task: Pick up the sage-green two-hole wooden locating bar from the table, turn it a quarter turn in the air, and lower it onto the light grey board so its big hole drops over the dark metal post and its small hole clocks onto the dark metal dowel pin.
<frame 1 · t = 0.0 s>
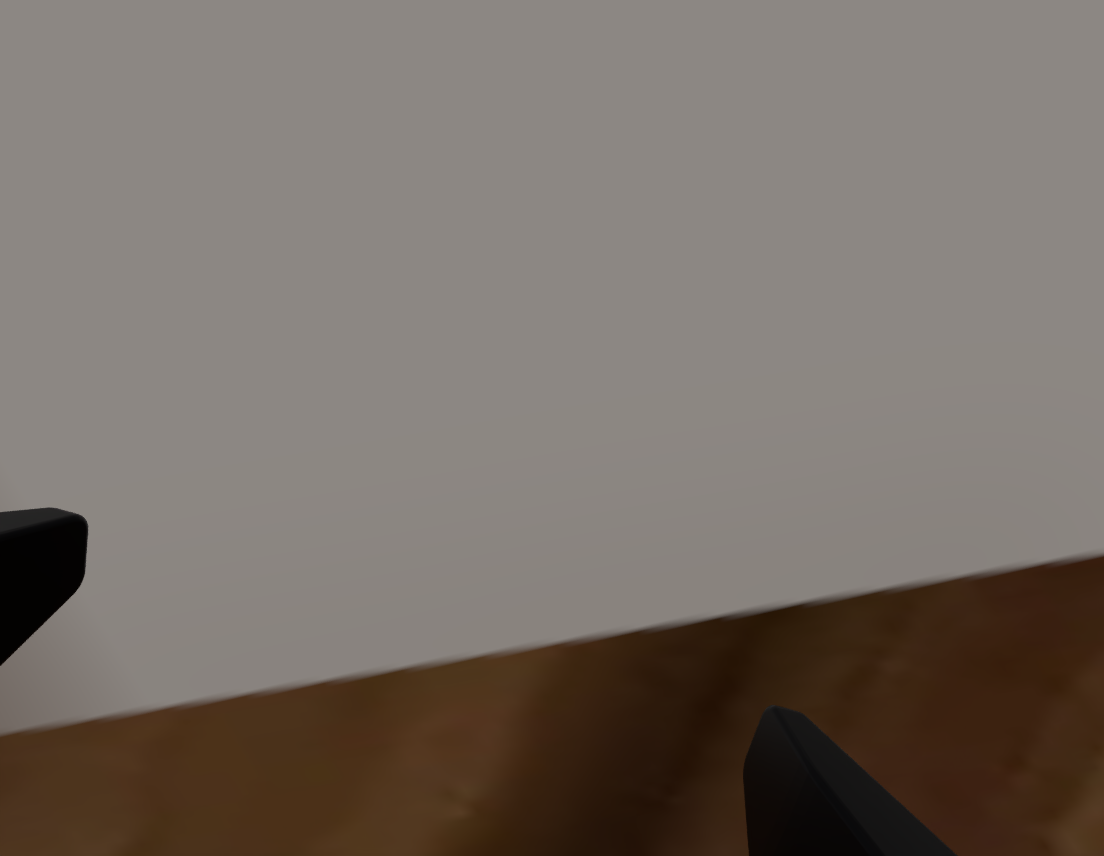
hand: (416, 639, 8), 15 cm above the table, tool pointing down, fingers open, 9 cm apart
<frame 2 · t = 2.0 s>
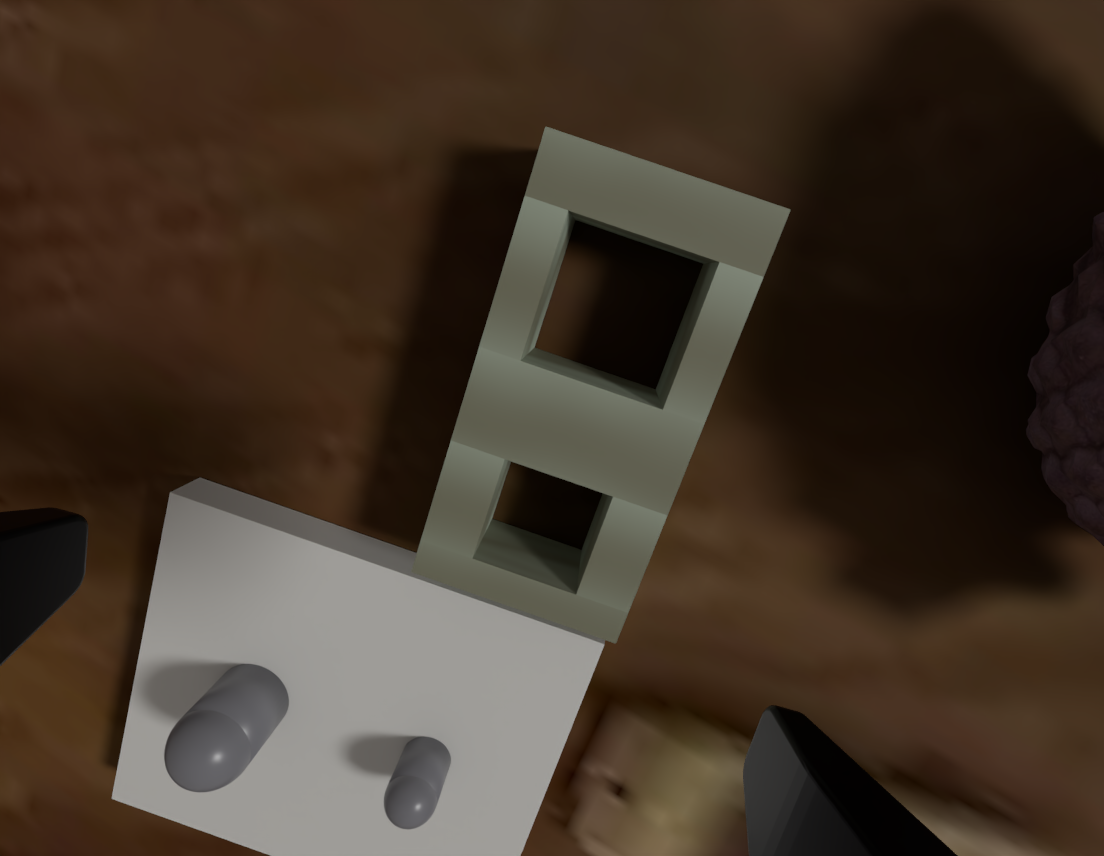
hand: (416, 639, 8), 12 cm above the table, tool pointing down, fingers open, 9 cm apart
locating bar: (588, 387, 20), on the table
post board: (357, 698, 23), on the table
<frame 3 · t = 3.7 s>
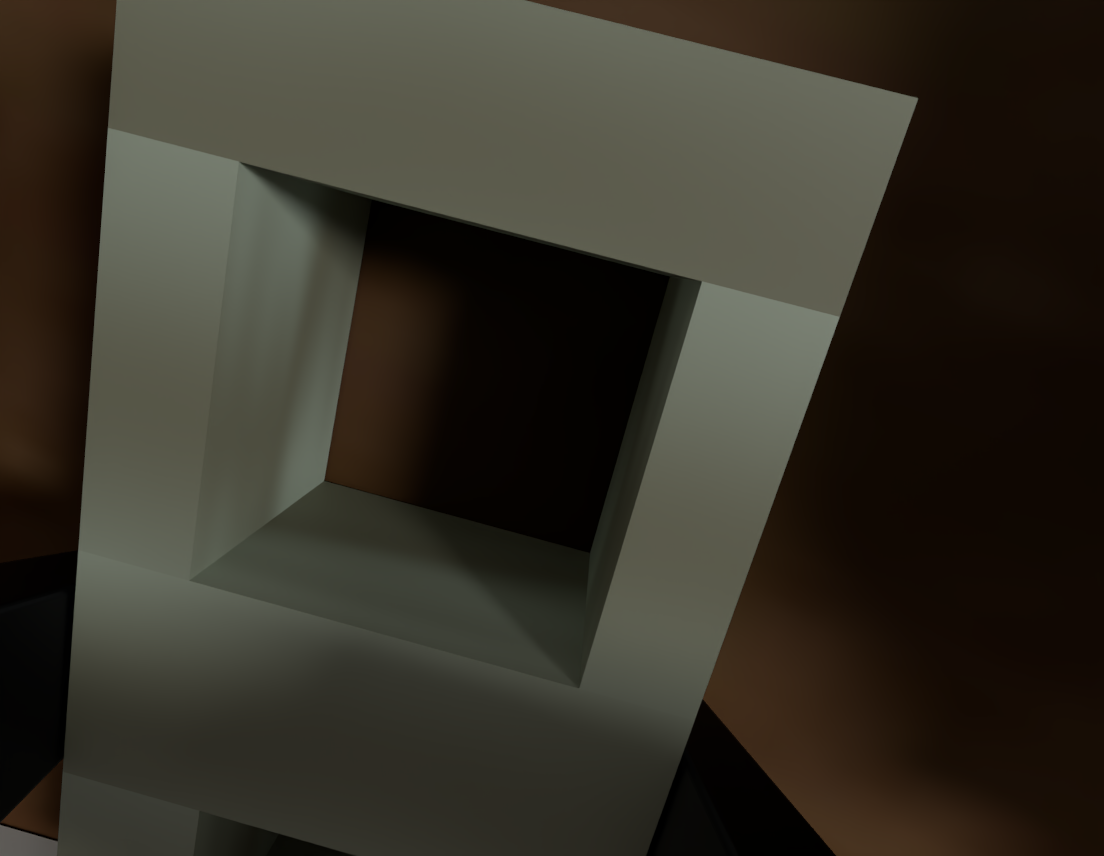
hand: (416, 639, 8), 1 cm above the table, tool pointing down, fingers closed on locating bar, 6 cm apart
locating bar: (447, 555, 9), on the table, touching gripper
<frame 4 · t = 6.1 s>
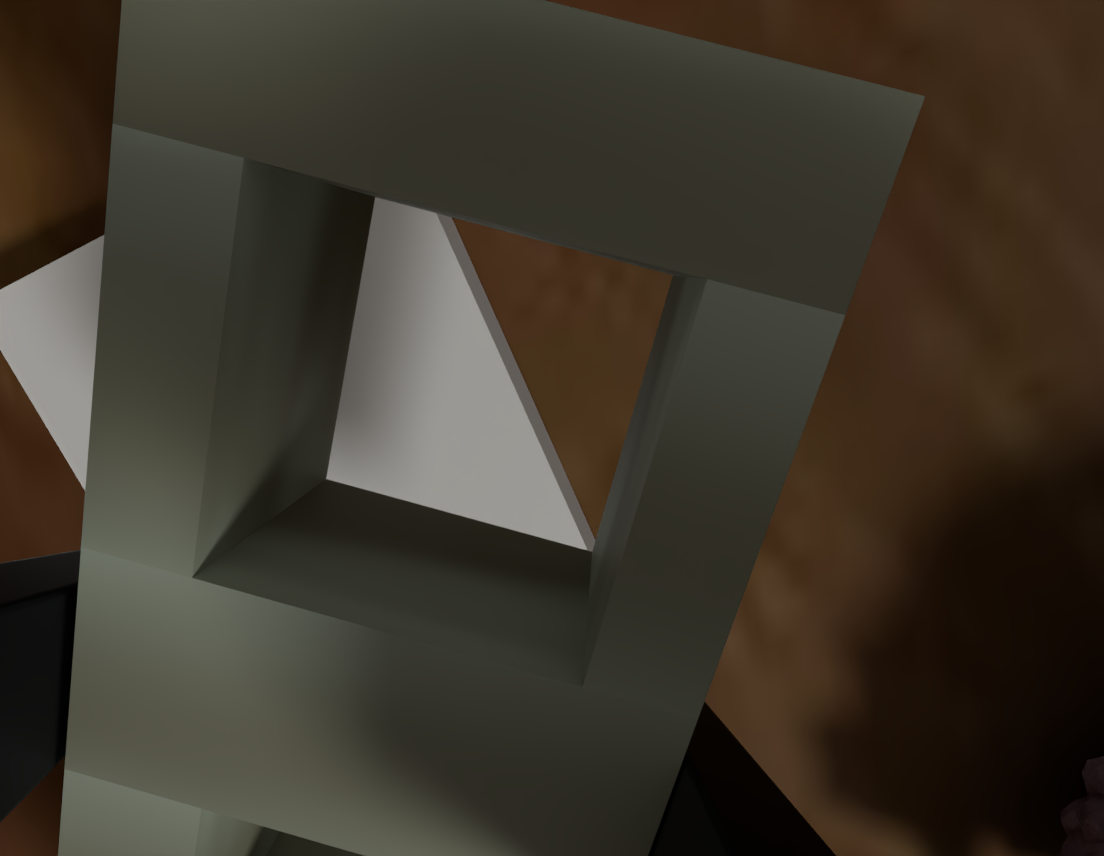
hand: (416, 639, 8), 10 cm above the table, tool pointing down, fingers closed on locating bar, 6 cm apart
locating bar: (449, 553, 9), point 9 cm above the table, touching gripper
post board: (324, 447, 19), on the table
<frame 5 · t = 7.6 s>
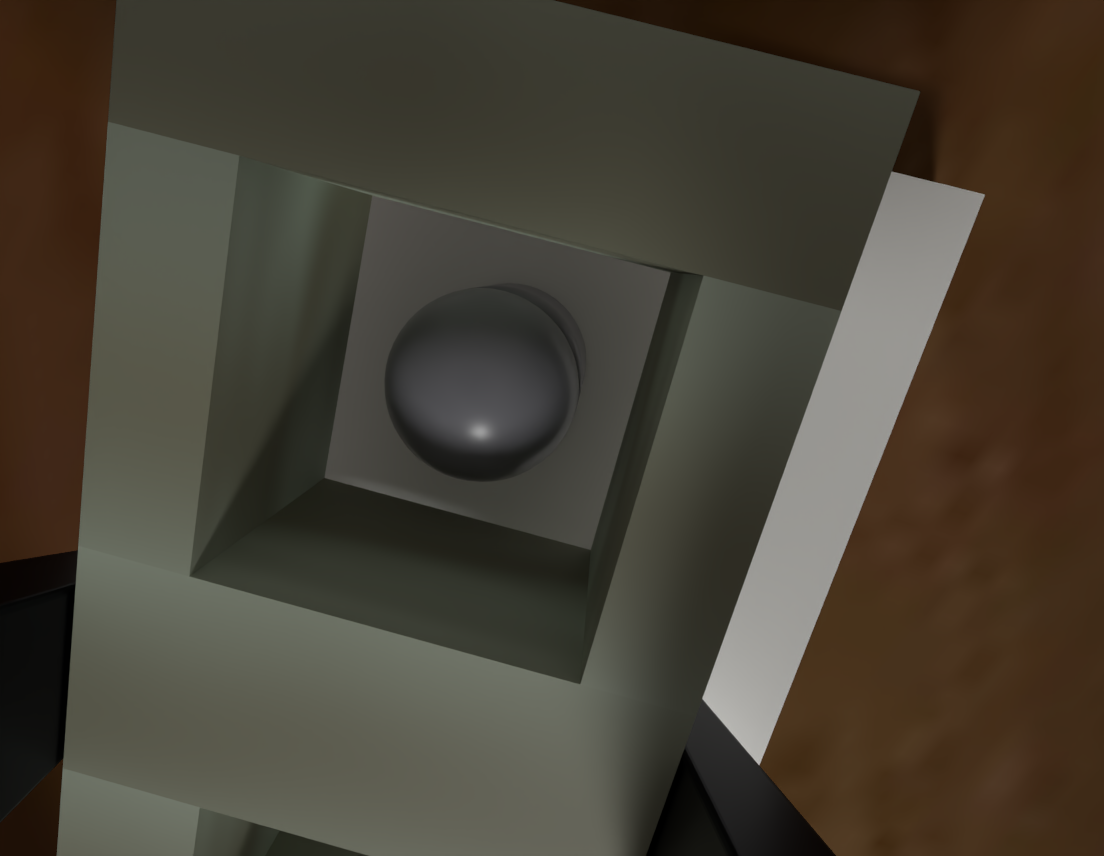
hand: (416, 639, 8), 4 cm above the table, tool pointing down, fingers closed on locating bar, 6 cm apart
locating bar: (447, 552, 9), point 3 cm above the table, touching gripper
post board: (487, 499, 13), on the table
when the fingers open (3 cm above the table, at t = 8.6 s): locating bar stays where it is, resting on post board.
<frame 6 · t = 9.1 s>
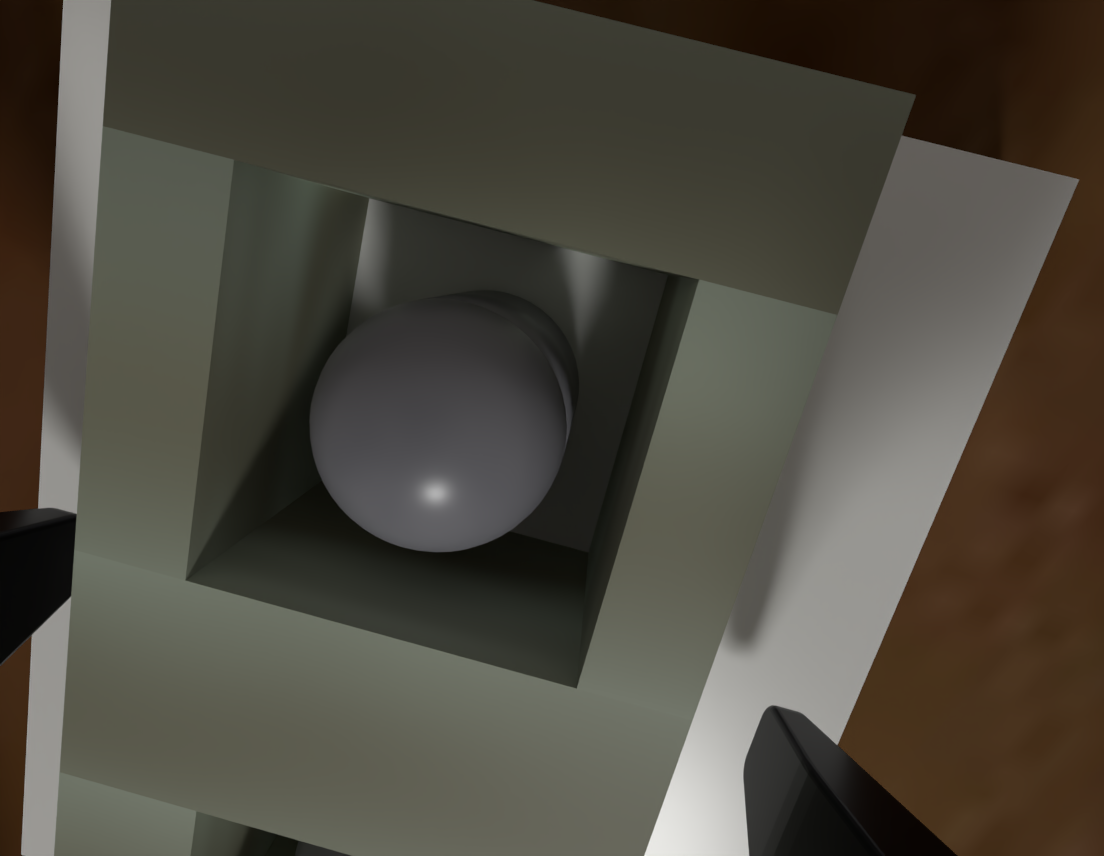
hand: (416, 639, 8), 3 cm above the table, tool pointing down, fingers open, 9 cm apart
locating bar: (445, 555, 9), point 1 cm above the table, touching post board
post board: (464, 543, 11), on the table
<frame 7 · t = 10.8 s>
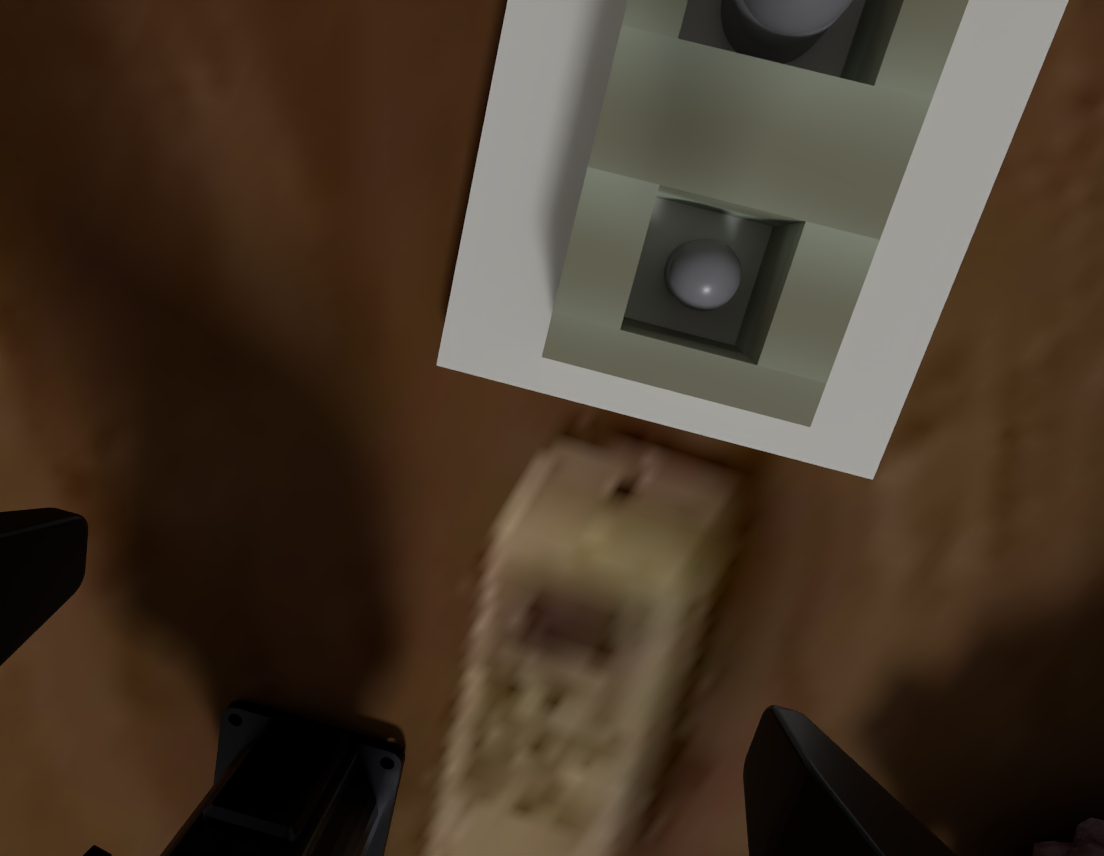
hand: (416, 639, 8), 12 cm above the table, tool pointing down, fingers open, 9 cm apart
locating bar: (738, 124, 16), point 1 cm above the table, touching post board
post board: (724, 155, 17), on the table
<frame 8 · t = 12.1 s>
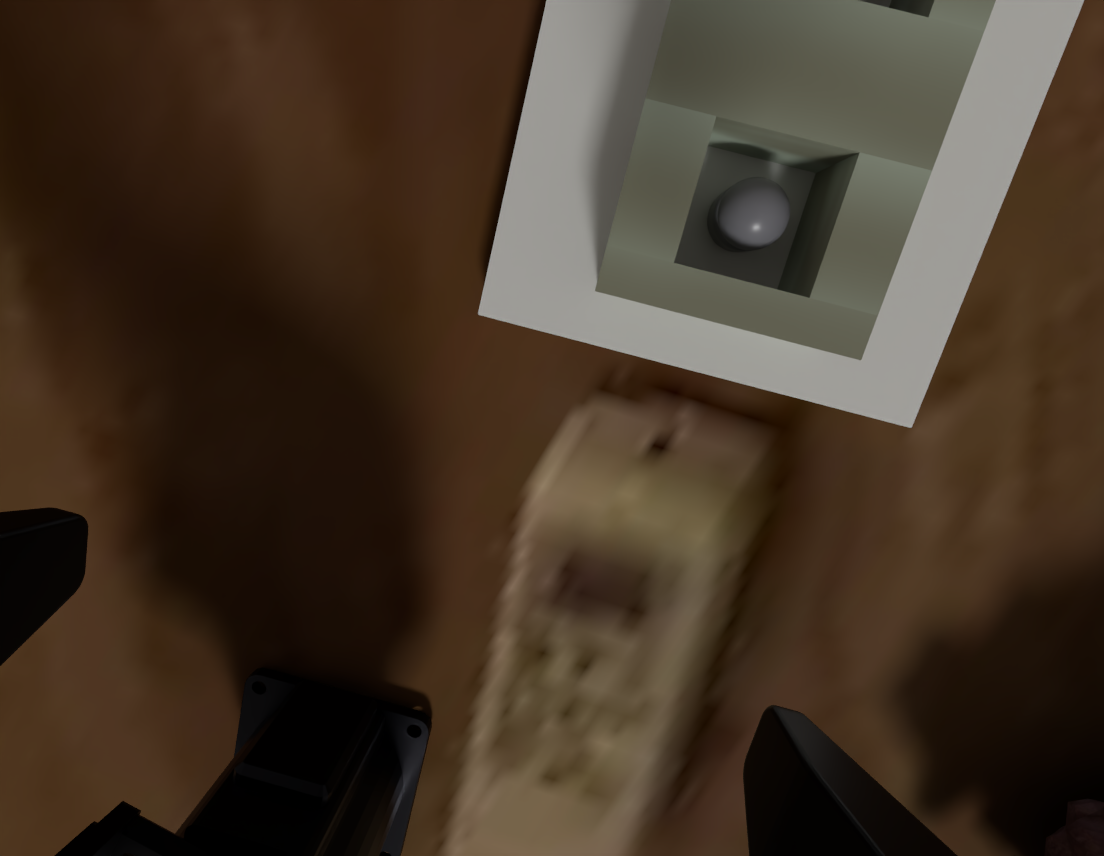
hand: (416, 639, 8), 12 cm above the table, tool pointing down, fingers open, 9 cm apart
locating bar: (783, 71, 16), point 1 cm above the table, touching post board
post board: (764, 108, 17), on the table
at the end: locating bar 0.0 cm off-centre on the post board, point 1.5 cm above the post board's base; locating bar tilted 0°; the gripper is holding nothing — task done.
